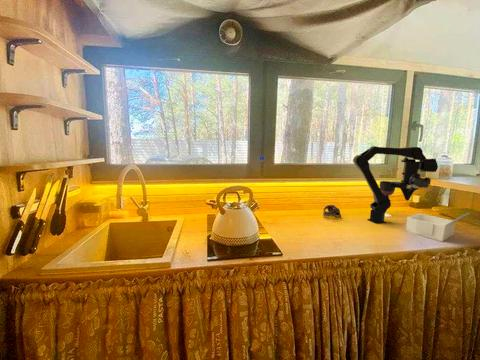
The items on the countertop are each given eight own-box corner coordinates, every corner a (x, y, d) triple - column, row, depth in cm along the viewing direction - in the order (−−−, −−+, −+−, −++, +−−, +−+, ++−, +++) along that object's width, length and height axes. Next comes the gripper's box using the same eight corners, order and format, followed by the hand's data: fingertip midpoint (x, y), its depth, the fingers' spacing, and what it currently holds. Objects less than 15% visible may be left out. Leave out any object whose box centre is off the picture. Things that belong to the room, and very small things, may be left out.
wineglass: (373, 213, 142) (377, 181, 139) (381, 211, 146) (385, 180, 143) (386, 217, 135) (390, 183, 132) (395, 215, 140) (399, 182, 136)
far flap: (460, 216, 97) (461, 217, 97) (469, 212, 104) (470, 212, 104) (444, 225, 102) (445, 226, 102) (454, 220, 109) (455, 221, 108)
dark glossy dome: (344, 220, 130) (340, 209, 127) (328, 226, 132) (323, 215, 129) (337, 209, 141) (333, 198, 138) (322, 215, 143) (318, 204, 140)
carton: (404, 231, 114) (406, 217, 113) (417, 225, 122) (419, 212, 121) (441, 241, 102) (444, 226, 101) (453, 234, 110) (455, 220, 109)
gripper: (411, 173, 110) (406, 205, 113) (441, 172, 115) (436, 203, 117) (391, 170, 121) (387, 199, 124) (419, 170, 125) (415, 198, 128)
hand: (407, 200), depth 123 cm, fingers closed
